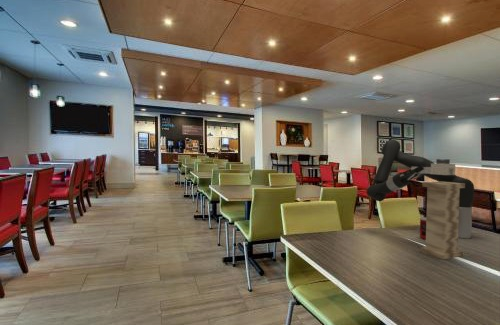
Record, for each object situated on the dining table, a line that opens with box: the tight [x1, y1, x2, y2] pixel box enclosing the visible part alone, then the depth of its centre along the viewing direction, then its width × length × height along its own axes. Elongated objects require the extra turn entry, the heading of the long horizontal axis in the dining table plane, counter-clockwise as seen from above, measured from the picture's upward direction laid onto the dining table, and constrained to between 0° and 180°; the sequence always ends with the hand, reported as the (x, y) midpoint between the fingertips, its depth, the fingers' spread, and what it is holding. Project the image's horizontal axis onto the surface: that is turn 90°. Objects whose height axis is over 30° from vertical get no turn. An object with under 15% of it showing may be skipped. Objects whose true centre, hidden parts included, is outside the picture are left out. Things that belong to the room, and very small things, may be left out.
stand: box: [419, 181, 465, 261], centre depth 125 cm, size 14×10×33 cm
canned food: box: [419, 216, 427, 241], centre depth 148 cm, size 8×8×11 cm
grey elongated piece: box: [410, 158, 456, 175], centre depth 130 cm, size 6×18×7 cm, turn 22°
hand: (424, 167), depth 133 cm, fingers closed on grey elongated piece, 3 cm apart
